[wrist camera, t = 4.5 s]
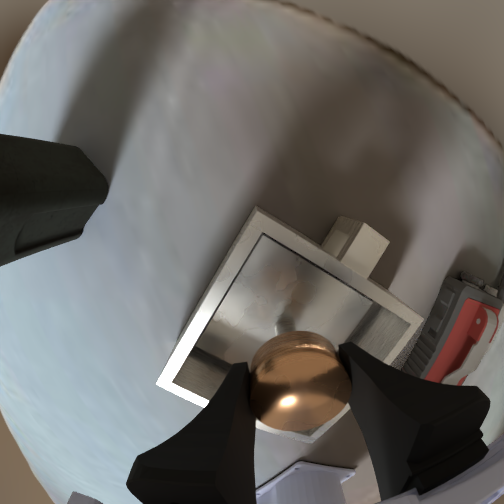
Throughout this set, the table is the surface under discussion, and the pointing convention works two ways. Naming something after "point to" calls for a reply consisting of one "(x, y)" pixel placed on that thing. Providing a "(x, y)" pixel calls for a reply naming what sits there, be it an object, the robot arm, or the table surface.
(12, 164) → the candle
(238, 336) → the square lid with knob
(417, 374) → the walkie-talkie
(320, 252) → the square tray with tab
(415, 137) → the table surface
